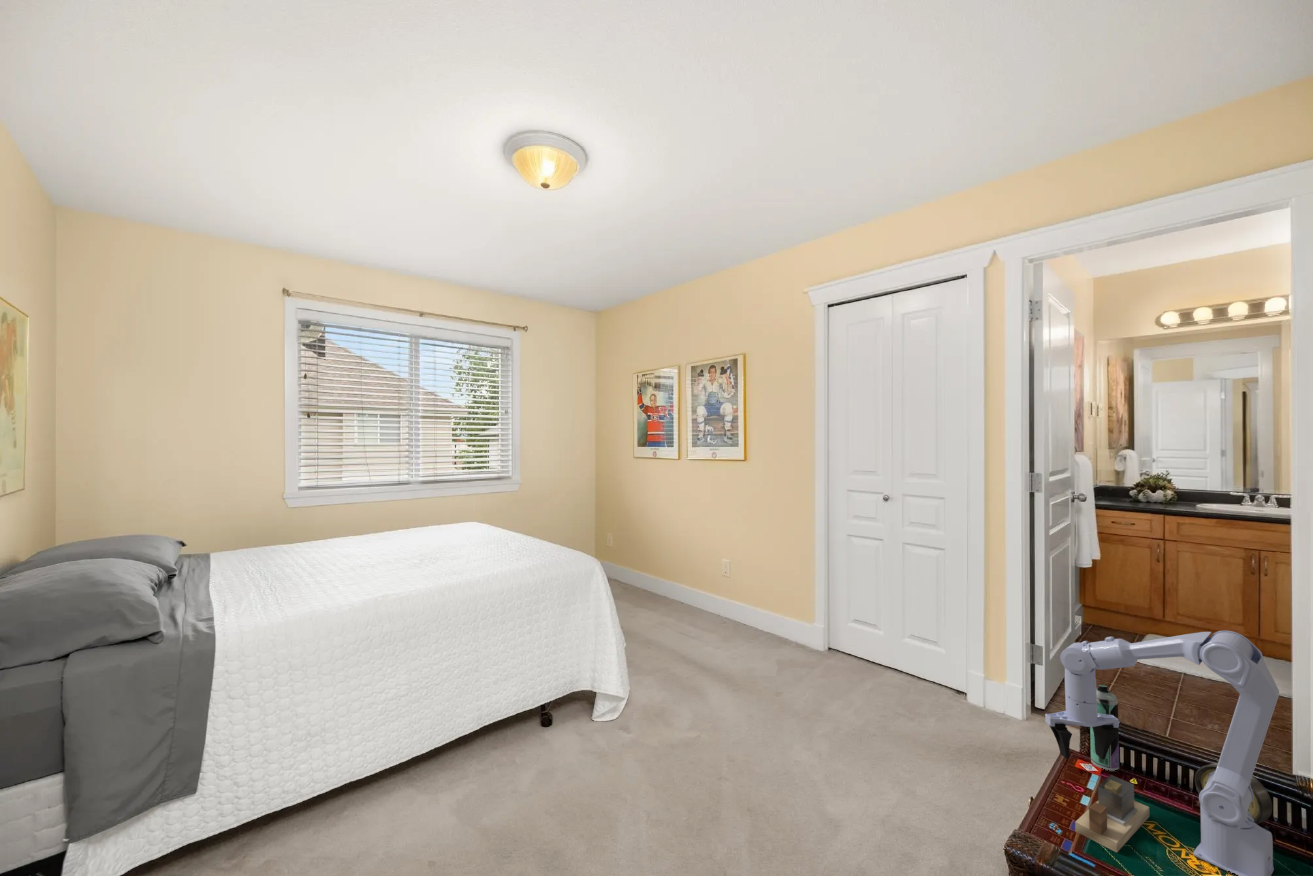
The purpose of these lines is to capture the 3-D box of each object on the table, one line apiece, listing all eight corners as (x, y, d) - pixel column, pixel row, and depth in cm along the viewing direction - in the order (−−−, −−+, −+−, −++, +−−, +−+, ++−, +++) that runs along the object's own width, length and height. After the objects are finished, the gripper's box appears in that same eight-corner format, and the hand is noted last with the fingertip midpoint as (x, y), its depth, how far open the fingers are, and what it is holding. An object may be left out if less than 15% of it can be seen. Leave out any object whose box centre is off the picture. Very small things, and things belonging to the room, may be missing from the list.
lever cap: (1134, 807, 117) (1133, 781, 117) (1121, 820, 113) (1121, 793, 113) (1111, 797, 120) (1110, 771, 120) (1098, 809, 117) (1098, 783, 117)
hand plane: (1149, 816, 118) (1148, 786, 118) (1116, 852, 108) (1116, 820, 108) (1109, 798, 124) (1109, 770, 124) (1075, 831, 114) (1074, 800, 114)
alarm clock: (1193, 808, 120) (1192, 736, 119) (1209, 803, 121) (1208, 731, 121) (1261, 844, 109) (1260, 765, 109) (1277, 837, 111) (1276, 759, 110)
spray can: (1124, 772, 132) (1122, 691, 132) (1098, 770, 134) (1097, 690, 133) (1110, 759, 138) (1109, 681, 138) (1086, 757, 139) (1084, 679, 139)
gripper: (1102, 689, 127) (1104, 747, 127) (1036, 688, 129) (1038, 745, 129) (1125, 704, 120) (1126, 765, 120) (1055, 703, 121) (1057, 763, 122)
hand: (1082, 756), depth 124 cm, fingers open, 7 cm apart
